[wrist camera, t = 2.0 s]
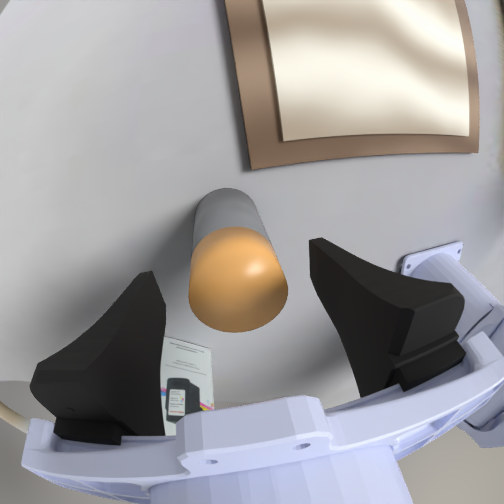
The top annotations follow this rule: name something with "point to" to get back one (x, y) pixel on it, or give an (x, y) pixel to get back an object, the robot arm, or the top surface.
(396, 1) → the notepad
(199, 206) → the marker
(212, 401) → the ink box
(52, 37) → the top surface
